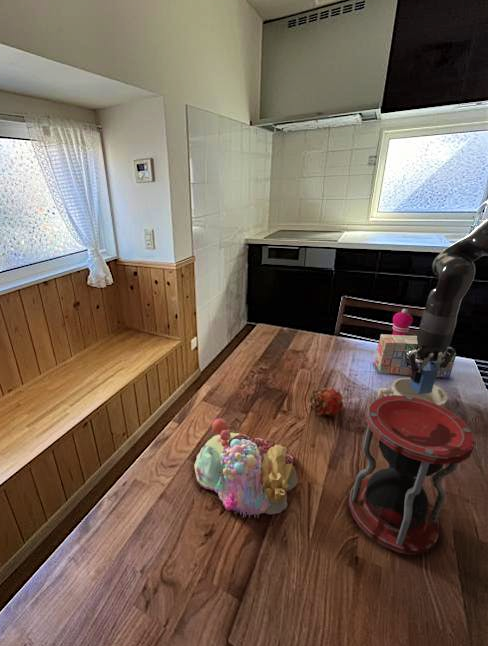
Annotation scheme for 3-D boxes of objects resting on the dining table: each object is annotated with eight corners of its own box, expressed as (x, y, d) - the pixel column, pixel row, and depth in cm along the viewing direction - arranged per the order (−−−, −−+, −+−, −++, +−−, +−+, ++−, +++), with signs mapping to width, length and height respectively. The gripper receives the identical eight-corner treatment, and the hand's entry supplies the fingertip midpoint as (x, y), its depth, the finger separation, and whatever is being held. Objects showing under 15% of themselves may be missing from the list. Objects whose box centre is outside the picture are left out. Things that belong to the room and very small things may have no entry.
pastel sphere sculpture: (298, 446, 88) (301, 419, 85) (296, 532, 68) (300, 500, 64) (206, 430, 96) (205, 404, 92) (180, 502, 76) (177, 472, 72)
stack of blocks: (441, 368, 117) (450, 337, 112) (449, 378, 112) (459, 346, 107) (374, 363, 122) (380, 333, 117) (378, 373, 117) (385, 341, 112)
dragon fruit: (309, 424, 98) (331, 411, 105) (334, 422, 91) (356, 408, 99) (298, 395, 100) (321, 385, 107) (323, 391, 93) (345, 380, 100)
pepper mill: (408, 359, 124) (421, 309, 116) (398, 365, 120) (410, 314, 112) (389, 351, 129) (400, 303, 121) (378, 357, 126) (388, 308, 118)
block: (421, 384, 100) (427, 362, 97) (431, 392, 97) (438, 369, 94) (408, 386, 100) (414, 363, 97) (418, 394, 97) (424, 371, 93)
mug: (431, 394, 105) (435, 379, 103) (451, 423, 93) (456, 408, 91) (370, 388, 109) (373, 374, 107) (382, 416, 97) (386, 401, 95)
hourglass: (351, 540, 66) (374, 444, 56) (346, 474, 80) (363, 388, 70) (449, 567, 61) (493, 467, 51) (425, 492, 75) (456, 402, 64)
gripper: (422, 336, 86) (408, 391, 93) (473, 330, 87) (456, 385, 94) (402, 324, 93) (390, 376, 100) (449, 319, 94) (435, 370, 101)
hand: (422, 380), depth 97 cm, fingers closed on block, 4 cm apart
